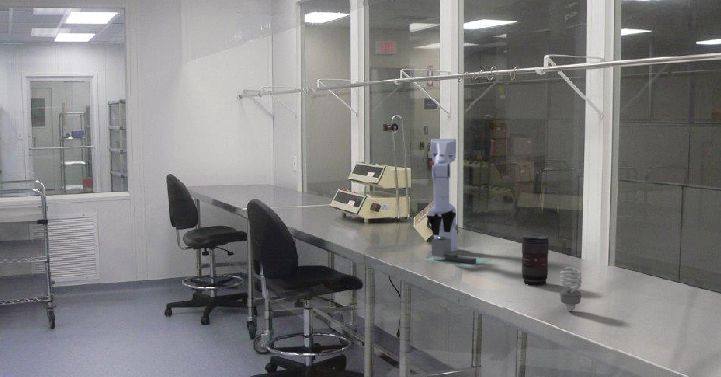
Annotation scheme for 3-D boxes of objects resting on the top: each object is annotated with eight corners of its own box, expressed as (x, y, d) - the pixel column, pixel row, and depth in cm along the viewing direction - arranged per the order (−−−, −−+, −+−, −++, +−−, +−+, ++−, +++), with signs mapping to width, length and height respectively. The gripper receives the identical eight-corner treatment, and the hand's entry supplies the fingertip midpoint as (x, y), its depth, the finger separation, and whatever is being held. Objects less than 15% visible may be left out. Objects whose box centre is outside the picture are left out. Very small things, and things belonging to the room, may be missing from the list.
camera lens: (548, 287, 229) (549, 238, 228) (521, 286, 231) (522, 238, 230) (547, 281, 237) (548, 234, 236) (521, 280, 239) (521, 233, 238)
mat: (446, 254, 285) (446, 253, 285) (492, 260, 272) (492, 259, 272) (422, 260, 274) (422, 259, 274) (469, 267, 261) (469, 266, 261)
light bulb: (556, 308, 204) (556, 265, 203) (576, 308, 204) (577, 264, 203) (563, 314, 198) (564, 269, 197) (584, 313, 199) (585, 268, 197)
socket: (450, 254, 274) (450, 236, 274) (443, 256, 270) (443, 238, 270) (439, 253, 277) (439, 235, 277) (431, 255, 273) (431, 237, 273)
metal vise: (478, 262, 267) (478, 251, 267) (469, 265, 263) (469, 253, 262) (439, 257, 278) (439, 246, 278) (429, 259, 274) (429, 248, 273)
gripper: (442, 193, 280) (442, 229, 281) (421, 197, 269) (421, 235, 270) (459, 195, 276) (459, 231, 277) (437, 198, 264) (438, 236, 266)
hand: (441, 233), depth 273 cm, fingers open, 7 cm apart
